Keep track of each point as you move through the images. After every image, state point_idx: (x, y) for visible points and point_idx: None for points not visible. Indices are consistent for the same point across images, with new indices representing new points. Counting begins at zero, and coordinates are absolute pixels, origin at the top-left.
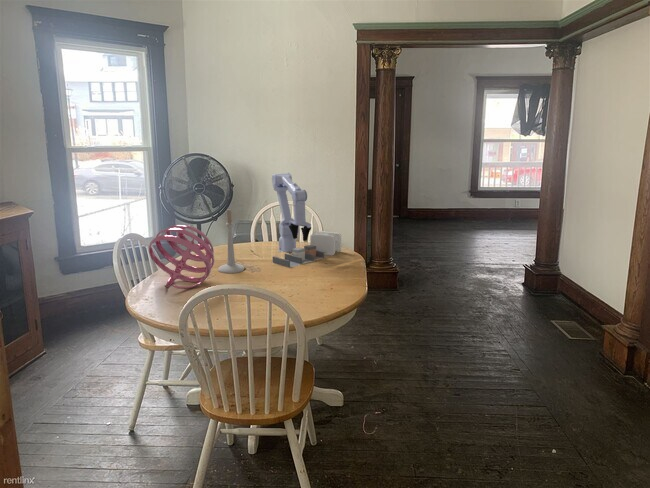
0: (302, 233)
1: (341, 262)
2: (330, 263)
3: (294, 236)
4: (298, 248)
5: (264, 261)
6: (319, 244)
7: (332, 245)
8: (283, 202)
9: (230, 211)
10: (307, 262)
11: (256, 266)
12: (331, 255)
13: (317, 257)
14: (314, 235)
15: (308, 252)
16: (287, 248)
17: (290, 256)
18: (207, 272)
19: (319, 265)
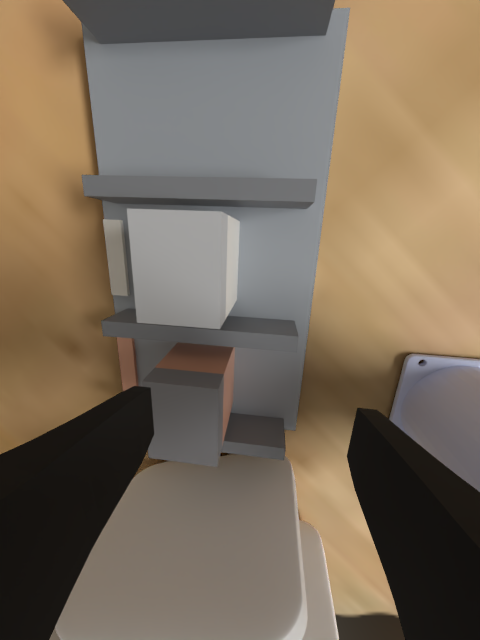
0: (41, 466)
1: (42, 412)
2: (58, 363)
3: (369, 442)
4: (183, 278)
5: (470, 35)
6: (208, 522)
7: (105, 534)
8: None
9: None
10: (108, 250)
11: None
12: (149, 467)
13: None
14: (245, 622)
15: (174, 358)
16: (464, 390)
17: (224, 180)
18: None
19: (59, 290)
